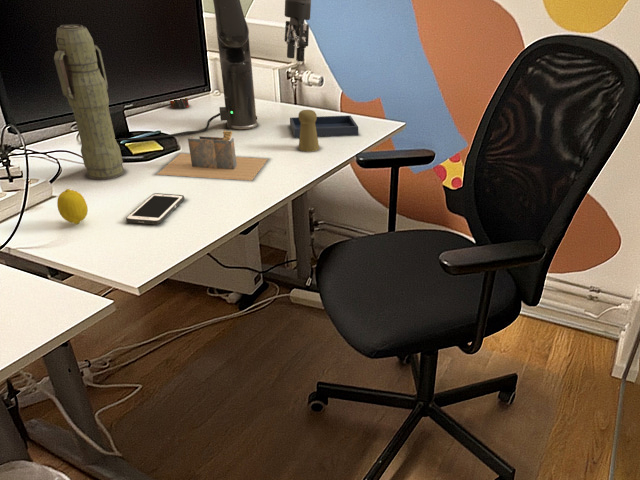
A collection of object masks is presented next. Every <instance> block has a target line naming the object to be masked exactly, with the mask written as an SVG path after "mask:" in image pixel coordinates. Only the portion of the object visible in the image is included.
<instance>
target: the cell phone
mask: <svg viewBox="0 0 640 480" xmlns="http://www.w3.org/2000/svg"><path fill="white" fill-rule="evenodd" d="M184 200H185V196H184V194H183V195H182V194H176V193H175V194H173V193H162V192H160V193H159V192H155V193H152V194H150V195H149V196H148V197H147V198H146V199H145V200H144V201H143V202H142V203H140V204H139V205H138V206H137V207H136V208H135V209H133V210H132V211H131V212H130V213H129V214H128V215H127V216H126V217H125V221H126V222H127V223H133V224H144V225H145V224H146V225H160V224H161V223H162V222H163V221H165V219H166V218H168V216H169V215H170V214H171V213H172V212H173V211H175V209H176V208H177V207H178V206H179V205H180V204H182V202H184Z"/></svg>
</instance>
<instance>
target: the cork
mask: <svg viewBox="0 0 640 480" xmlns="http://www.w3.org/2000/svg"><path fill="white" fill-rule="evenodd" d="M298 117H299V121H300V122H301V126H300V138H298V139H299V141H298V150H300V151H301V152H307V153H311V152H317V151H318V150H320V144H319V140H318V139H319V137H317V131H316V125H315V122H316V119H317V117H318V116H317V113H316V111H315V110H312V109H303V110H300V111H299V113H298Z"/></svg>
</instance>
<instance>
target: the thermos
mask: <svg viewBox="0 0 640 480" xmlns="http://www.w3.org/2000/svg"><path fill="white" fill-rule="evenodd" d="M55 34H56V35H55V42H56V47H57V49H58V50H57V51H55V52H54V56H53V61H54V65H55V68H56V72H57V77H58V81H59V85H60V88H61V92H62V96H63V97H65V98H67V101H68V105H69V106H70V109H72V112H73V116H74V120H75V124H76V128H77V132H78V136H79V140H80V144H81V146H80V154H81V157H82V162H83V165H84V168H86V174H87V177H88V178H89V179H92V180H100V181H102V180H104V181H105V180H111V179H116V178H119V177H121V176H123V175H124V174H125V169H124V165H123V163H124V160H123V156H122V153H121V147H120V145H119V144H118V141H116V139H115V138H116V135H115V131H114V126H113V122H112V117H111V112H110V107H109V105H110V100H109V94H108V90H109V85H108V83H109V82H108V78H107V74H106V69H105V64H104V60H103V55H102V50H101V49H100V48H99V46H98V45H97V44H95V43H94V39H93V37H92V34H91V33H90V32H89V30H88V28H87V27H86V26H84V25H82V24H78V23H77V24H75V23H74V24H73V23H71V24H69V23H68V24H61V25H59V27H57V28H56V33H55Z"/></svg>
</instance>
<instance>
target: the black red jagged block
mask: <svg viewBox="0 0 640 480" xmlns="http://www.w3.org/2000/svg"><path fill="white" fill-rule="evenodd" d="M169 104H170V108H171V109H173V110H184V109H188V108H189V107H190V104H189V98H185V99H180V100H174V101H170V100H169Z"/></svg>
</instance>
